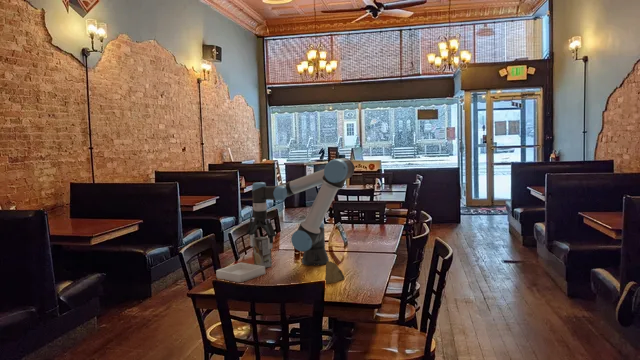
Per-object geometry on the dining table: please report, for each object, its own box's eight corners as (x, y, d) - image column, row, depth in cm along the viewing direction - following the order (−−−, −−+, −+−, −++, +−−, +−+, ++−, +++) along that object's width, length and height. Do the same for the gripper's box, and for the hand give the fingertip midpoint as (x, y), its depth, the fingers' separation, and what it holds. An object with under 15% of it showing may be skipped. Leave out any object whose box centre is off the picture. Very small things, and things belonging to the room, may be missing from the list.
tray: (265, 273, 252) (264, 266, 252) (240, 282, 238) (240, 275, 237) (241, 269, 263) (241, 262, 262) (216, 277, 248) (216, 270, 248)
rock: (344, 272, 240) (324, 270, 240) (346, 261, 235) (326, 259, 235) (344, 290, 232) (323, 288, 232) (345, 279, 226) (325, 277, 226)
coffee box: (272, 266, 267) (271, 238, 266) (263, 268, 263) (262, 240, 261) (262, 263, 274) (261, 236, 272) (253, 266, 269) (252, 238, 268)
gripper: (239, 209, 270) (241, 246, 272) (271, 212, 255) (273, 251, 257) (248, 207, 276) (250, 243, 278) (281, 210, 261) (282, 248, 263)
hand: (261, 247), depth 267 cm, fingers open, 13 cm apart
